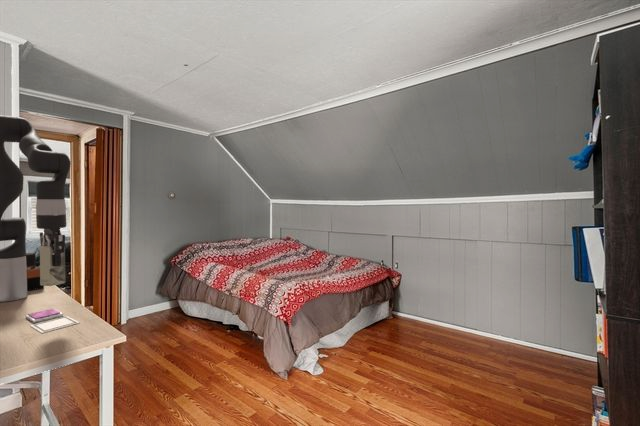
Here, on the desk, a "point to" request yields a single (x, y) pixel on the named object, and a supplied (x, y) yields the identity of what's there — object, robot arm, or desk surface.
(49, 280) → the box
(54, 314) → the ink pad
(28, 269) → the battery
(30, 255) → the deodorant
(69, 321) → the paper
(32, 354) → the desk surface
